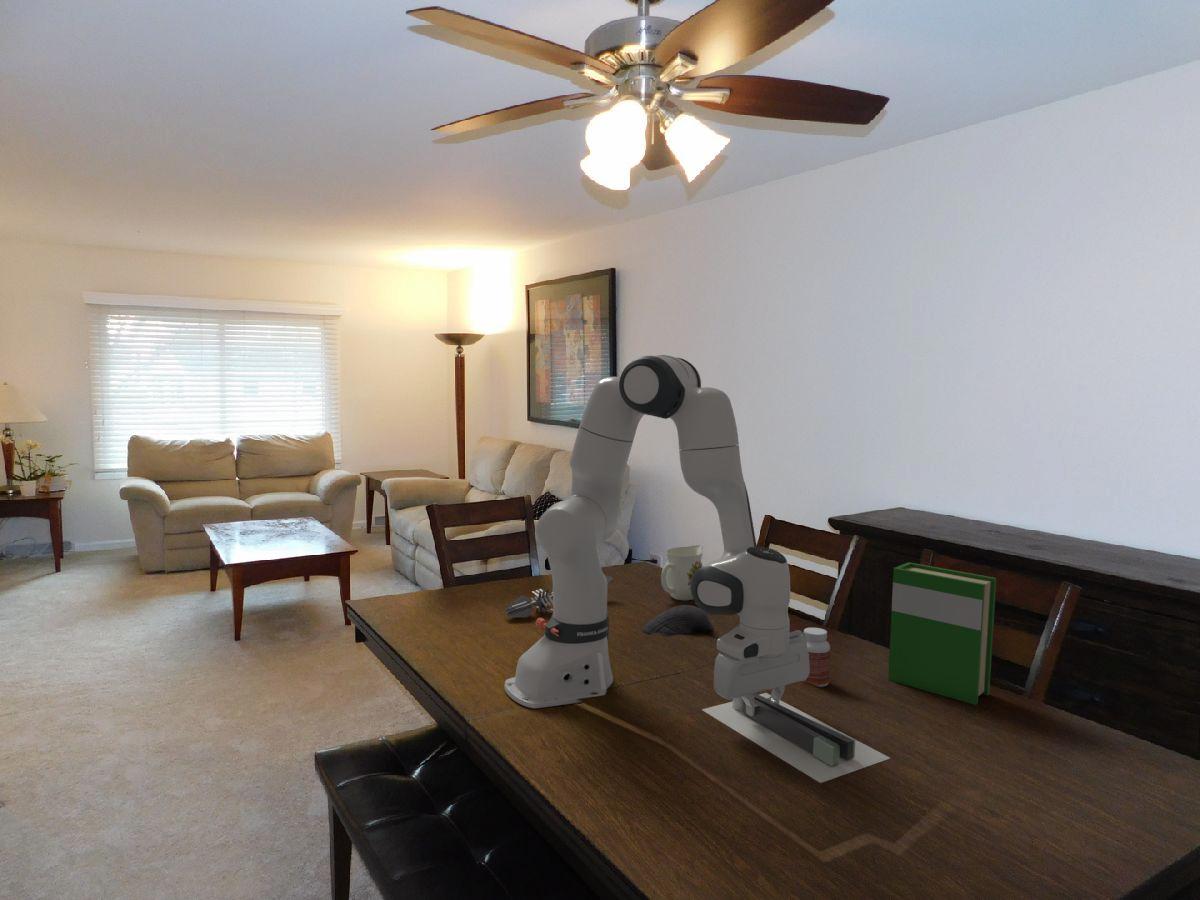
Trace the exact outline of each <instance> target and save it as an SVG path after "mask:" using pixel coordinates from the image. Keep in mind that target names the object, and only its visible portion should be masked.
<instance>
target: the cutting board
mask: <svg viewBox="0 0 1200 900" xmlns="http://www.w3.org/2000/svg"><path fill="white" fill-rule="evenodd" d="M759 695H760V696H763V697H765V698H769V697H770V696H771V694H769V693H768V692H763V693H760V694H759ZM779 705H781V706H783V707H785V708H787V709H790V710H792V711H794V712H796V713H798V714H800V715H802V716H804V717H806V718H808V719H810V720H812V721H814V722H817V723H819V724H821V725H823V726H825V727H827V728H829V729H831V730H833V731H838V732H840V733H842V734H844V735H846V736H848V737H850V736H849V735H848V734H845V733H843V732H842V731H840V730H837V729H836V728H834V727H832V726H830V725H828V724H826V723H824V722H822V720H819V719H817V718H814V717H813V716H811V715H809V714H808V713H805V712H803V711H801V710H800V709H797V708H796V707H794V706H792V705H791V704H788V703H786V702H785V701H783V700H781V699H780V700H779ZM701 711H703V712H704V713H706V714H708V715H709V716H711V717H712V718H714V719H715V720H716V721H719V722H721V723H722V724H724V725H725V726H727V727H728V728H730V729H732V730H734V731H735V732H737V733H738V734H739V735H742V736H743V737H745V738H746V739H748V740H750V741H751V742H753V743H755V745H757V746H759V747H761V748H763V749H764V750H766V751H767V752H769V753H771V754H772V755H773V756H776V757H778V758H779V759H780V760H782V761H784V762H785V763H787V764H789V765H790V766H792V767H794V768H795V769H797V770H798V771H800V772H802V773H803V774H805V775H806V776H808V777H810V778H811V779H813V780H814V781H816V782H818V783H819V784H822V783H825V782H827V781H830V780H834V779H837V778H838V777H841V776H845V775H847V774H851V773H853V772H856V771H859V770H861V769H865V768H868V767H870V766H874V765H876V764H878V763H881V762H884V761H887V760H890V759H891V757H889V756H887V755H886V754H884V753H882V752H879V751H878V750H876V749H874V748H872V747H870V746H869V745H867V744H864V743H862V742H861V741H858V740H857V739H855V757H854V758H852V759H849V760H846V759H844V758H842V757H840V761H839V764H836V765H833V766H831V765H829V764H827V763H825V762H824V761H822V760H820V759H819V758H817V757H815V756H813V753H811V752H809V751H807V750H806V749H804V748H802V747H801V746H799V745H797V744H795V743H794V742H792V741H790V740H788V739H787V738H785V737H783V736H782V735H780V734H778V733H776V732H775V731H773V730H771V729H769V728H768V727H766V726H764V725H763V724H761V723H759V722H757V721H756V720H754V719H752V718H750V717H749V716H747V715H745V714H744V713H743V712H741V711H736V710H734V709H733V708H732V701H730V702H726V703H721V704H718V705H713V706H709V707H706V708H702V709H701Z"/></svg>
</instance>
